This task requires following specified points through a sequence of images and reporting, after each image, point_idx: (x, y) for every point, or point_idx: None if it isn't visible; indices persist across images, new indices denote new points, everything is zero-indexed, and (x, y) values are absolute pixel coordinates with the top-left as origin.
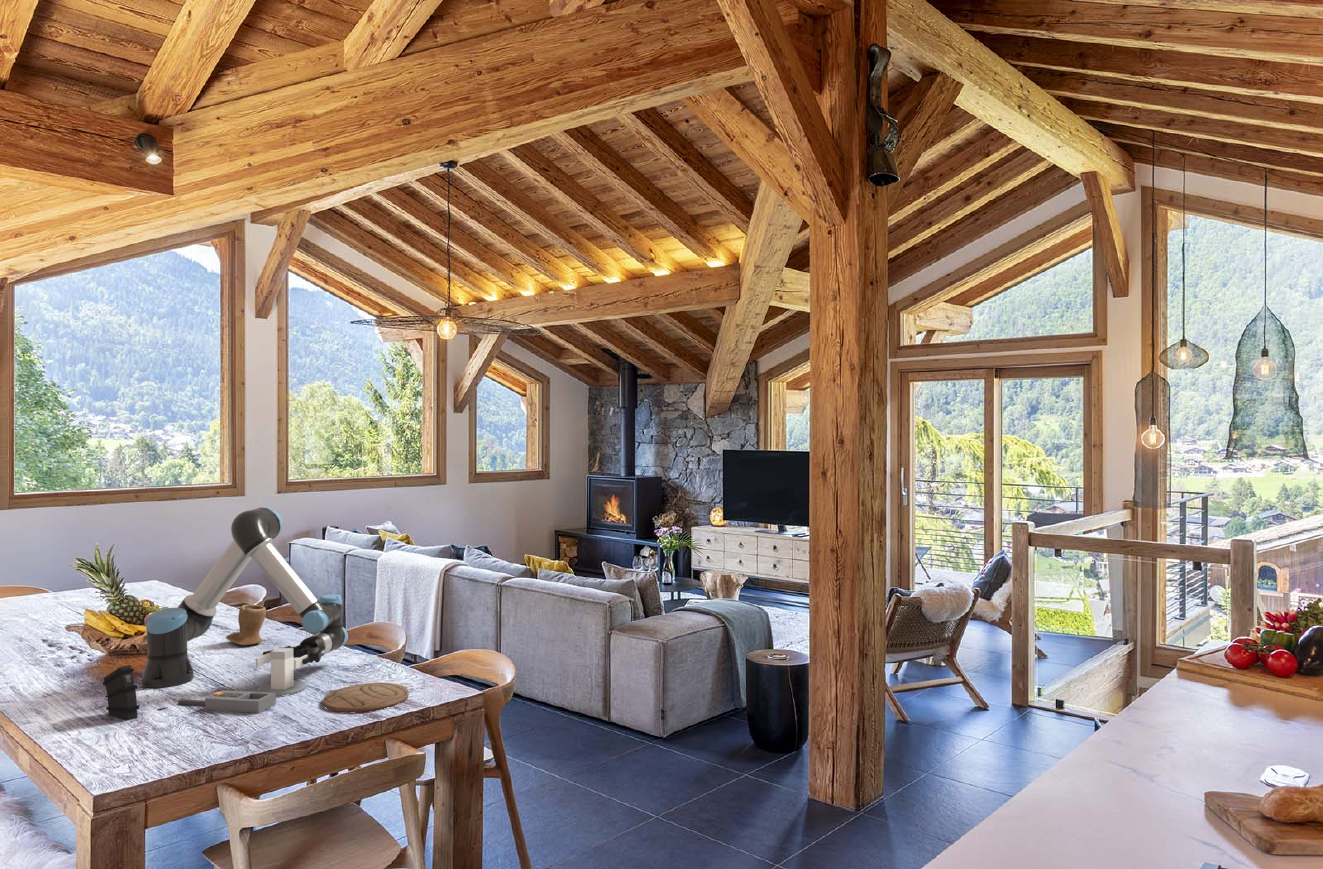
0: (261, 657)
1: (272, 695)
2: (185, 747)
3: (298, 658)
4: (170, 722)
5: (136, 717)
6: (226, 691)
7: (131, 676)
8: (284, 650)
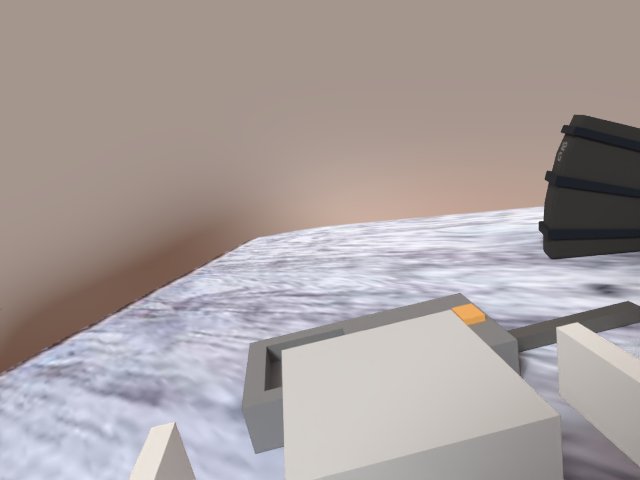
0: (600, 363)
1: (244, 395)
2: (276, 270)
3: (145, 475)
4: (436, 279)
5: (550, 257)
6: (482, 338)
7: (566, 148)
8: (330, 373)
